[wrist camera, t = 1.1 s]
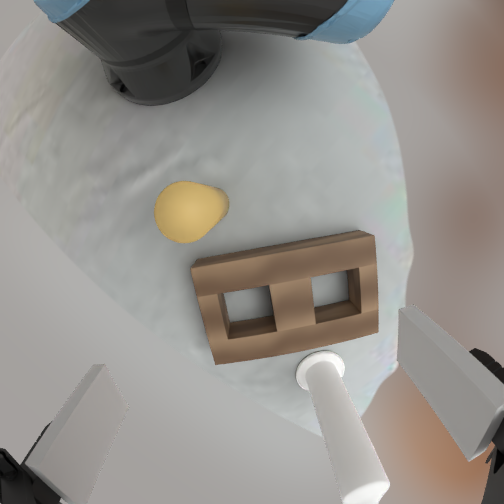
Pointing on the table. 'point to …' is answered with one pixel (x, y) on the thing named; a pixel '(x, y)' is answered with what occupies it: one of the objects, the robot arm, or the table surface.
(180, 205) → the peg
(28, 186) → the table surface
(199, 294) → the socket block
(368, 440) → the candle
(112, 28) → the robot arm
